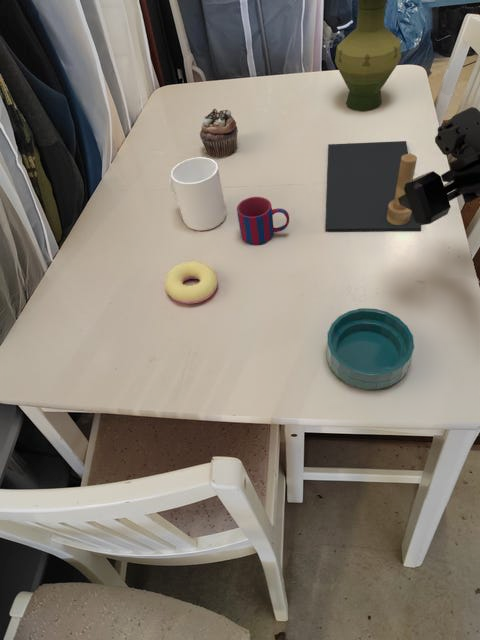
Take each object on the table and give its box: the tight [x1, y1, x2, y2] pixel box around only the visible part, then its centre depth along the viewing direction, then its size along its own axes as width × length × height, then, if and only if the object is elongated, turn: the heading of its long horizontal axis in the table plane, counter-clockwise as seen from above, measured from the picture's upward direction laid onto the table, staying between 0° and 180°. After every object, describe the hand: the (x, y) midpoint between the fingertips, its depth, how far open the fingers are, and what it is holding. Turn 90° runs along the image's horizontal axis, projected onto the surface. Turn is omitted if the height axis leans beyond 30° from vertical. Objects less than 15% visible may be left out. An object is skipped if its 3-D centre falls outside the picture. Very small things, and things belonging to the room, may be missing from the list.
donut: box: [164, 260, 219, 305], centre depth 82 cm, size 10×5×9 cm
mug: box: [169, 156, 227, 231], centre depth 92 cm, size 10×12×12 cm
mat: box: [324, 140, 422, 233], centre depth 96 cm, size 18×32×1 cm, turn 172°
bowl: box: [326, 307, 415, 390], centre depth 67 cm, size 12×12×4 cm
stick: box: [387, 153, 418, 225], centre depth 82 cm, size 4×4×13 cm
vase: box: [334, 0, 402, 112], centre depth 109 cm, size 16×16×30 cm
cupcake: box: [199, 108, 239, 159], centre depth 110 cm, size 10×10×10 cm
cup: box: [236, 196, 290, 246], centre depth 87 cm, size 7×10×7 cm
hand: (421, 189), depth 70 cm, fingers open, 9 cm apart
